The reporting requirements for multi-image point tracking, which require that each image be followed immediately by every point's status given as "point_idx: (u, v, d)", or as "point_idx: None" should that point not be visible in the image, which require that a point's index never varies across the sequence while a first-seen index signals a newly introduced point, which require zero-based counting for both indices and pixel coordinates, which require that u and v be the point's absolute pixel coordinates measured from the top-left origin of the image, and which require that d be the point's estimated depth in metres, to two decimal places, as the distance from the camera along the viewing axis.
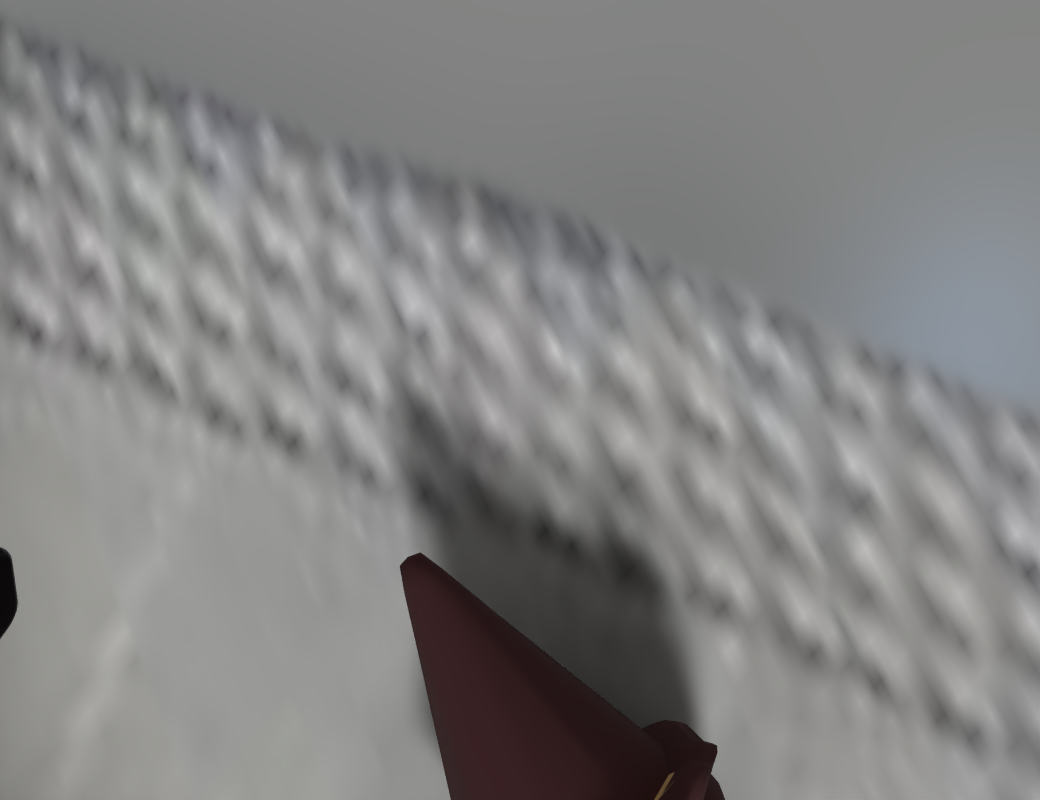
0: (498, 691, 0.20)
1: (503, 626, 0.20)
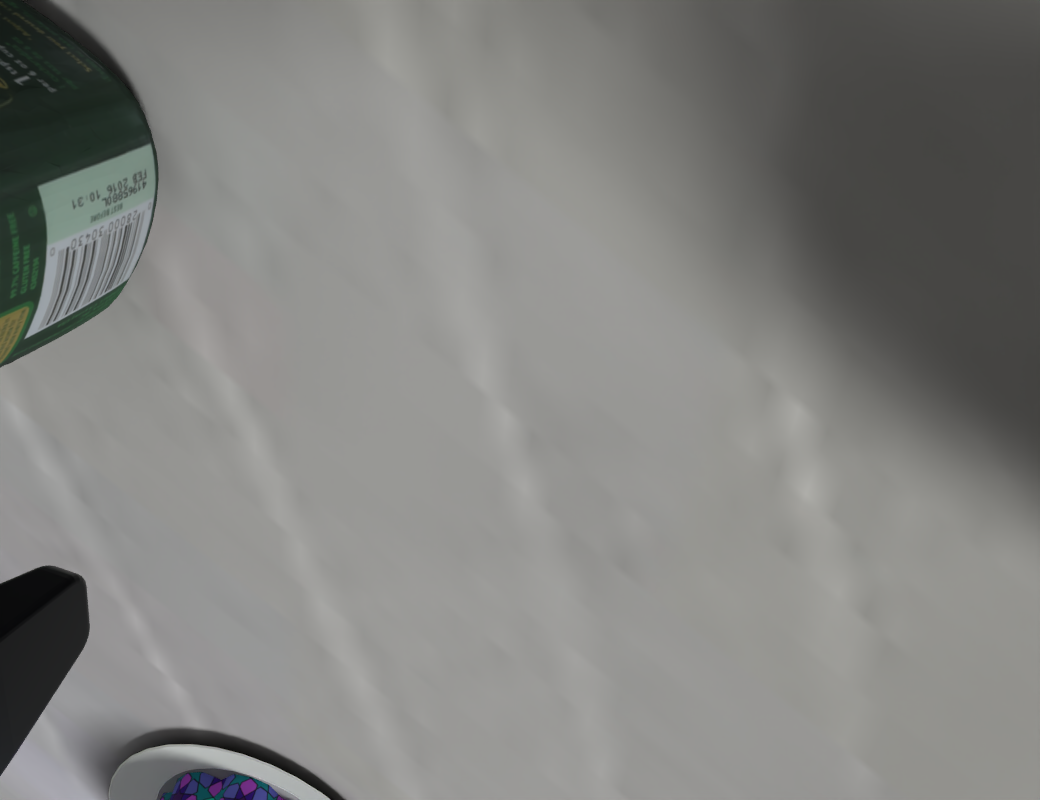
0: None
1: None
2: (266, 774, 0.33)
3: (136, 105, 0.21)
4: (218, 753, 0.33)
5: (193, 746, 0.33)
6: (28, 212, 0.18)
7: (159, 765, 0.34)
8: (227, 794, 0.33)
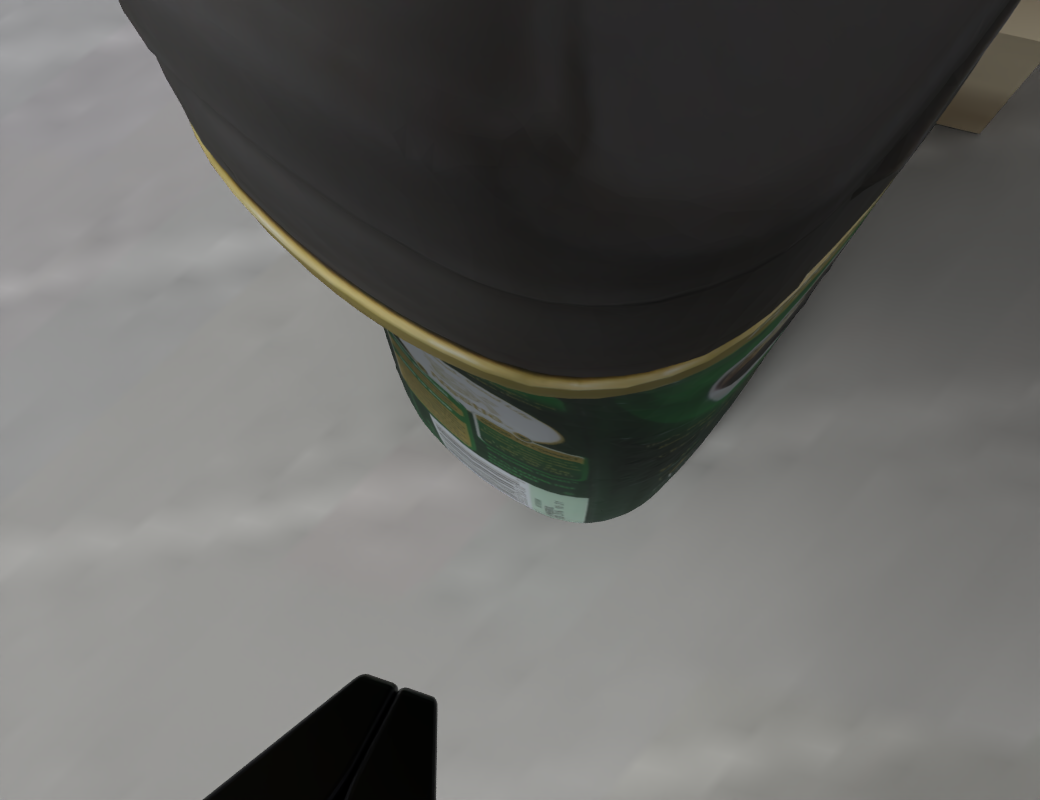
0: None
1: None
2: None
3: (617, 515, 0.22)
4: None
5: None
6: (568, 492, 0.19)
7: None
8: None
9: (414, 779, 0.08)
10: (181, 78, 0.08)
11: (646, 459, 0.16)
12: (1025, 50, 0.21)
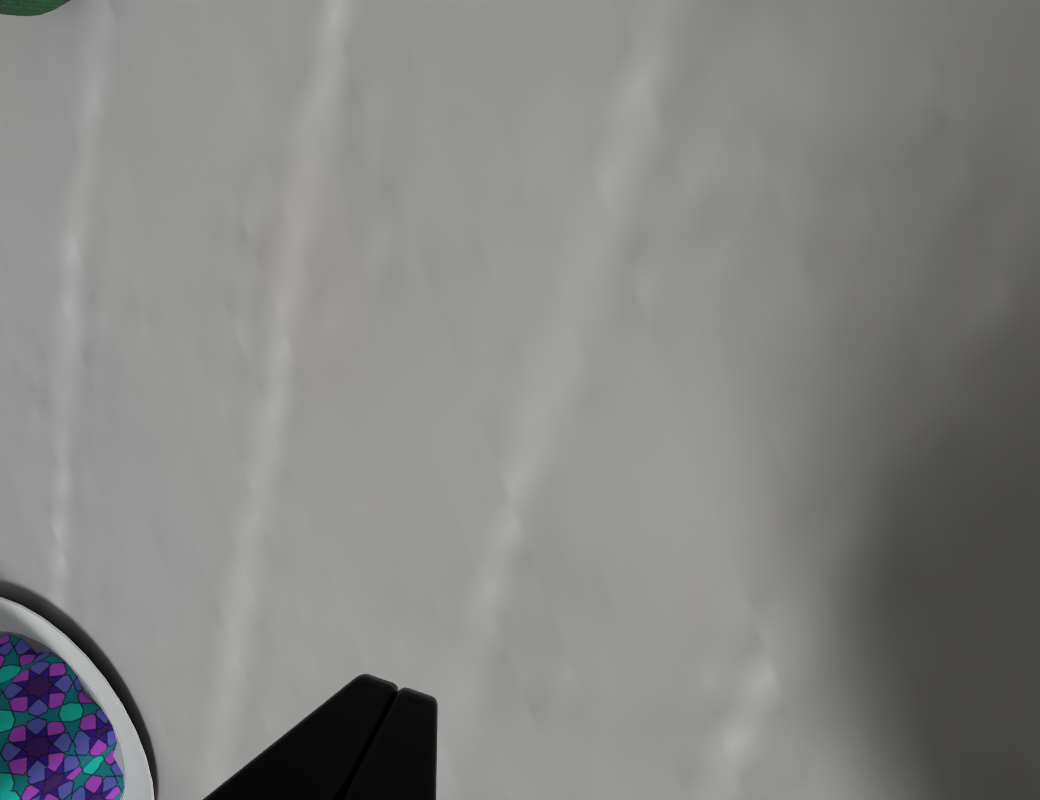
0: None
1: None
2: (79, 664, 0.32)
3: None
4: (43, 624, 0.32)
5: (22, 608, 0.32)
6: None
7: None
8: (34, 668, 0.33)
9: (414, 779, 0.08)
10: None
11: None
12: None
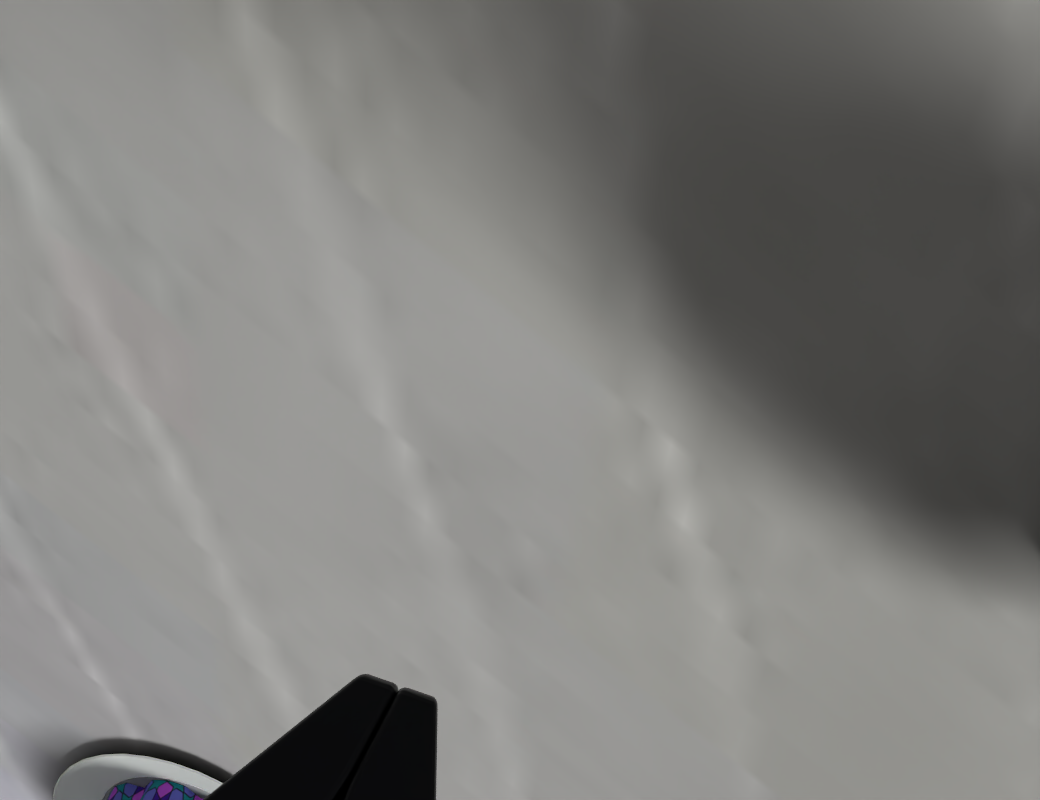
0: None
1: None
2: (177, 774, 0.35)
3: None
4: (129, 759, 0.34)
5: (105, 756, 0.34)
6: None
7: (89, 782, 0.36)
8: (145, 799, 0.35)
9: (414, 779, 0.08)
10: None
11: None
12: None
